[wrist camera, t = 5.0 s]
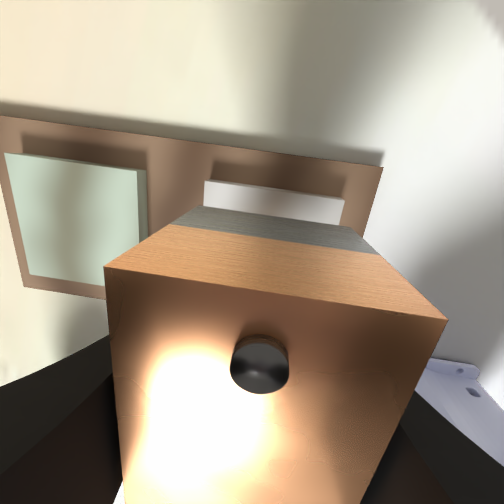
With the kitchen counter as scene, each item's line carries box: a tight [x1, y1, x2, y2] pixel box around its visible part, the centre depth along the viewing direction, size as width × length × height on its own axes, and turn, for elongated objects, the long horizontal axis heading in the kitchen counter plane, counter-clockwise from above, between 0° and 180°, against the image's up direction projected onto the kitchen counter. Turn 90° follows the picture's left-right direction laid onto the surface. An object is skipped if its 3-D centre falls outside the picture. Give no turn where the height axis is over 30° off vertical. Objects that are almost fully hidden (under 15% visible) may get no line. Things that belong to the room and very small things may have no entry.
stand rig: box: [0, 115, 384, 300], centre depth 17 cm, size 24×12×2 cm, turn 83°
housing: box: [103, 205, 448, 504], centre depth 7 cm, size 5×8×5 cm, turn 173°
